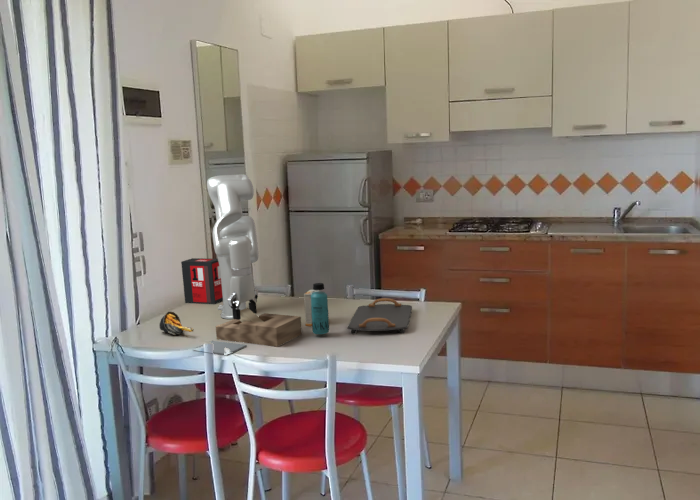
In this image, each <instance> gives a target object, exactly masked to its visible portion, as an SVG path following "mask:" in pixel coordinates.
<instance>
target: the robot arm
mask: <svg viewBox="0 0 700 500" xmlns="http://www.w3.org/2000/svg"><path fill="white" fill-rule="evenodd" d="M206 188H207V193H208V196H209V198H210V200H211V202H212V204H213V207H214V210H215V218H216V222H215V223H214V226H213V228H212V243H213V248H214V253H215V254H216V257H217V258H216V259H218V262H219V267H220V274H221V284H222V296H223V301H222V304H218V305H219V306H217V310H218V311H221V313H220V318H222V319H225V320H226V319H227V320H233V319H237V320H240V319H241V315H240V310H243V309H246V308H247V303H246V302H248V308H249V309H250V310H251V311H252V312H253V313H254V314H257V312H258V311H257V302H258V300H257V299H258V297H259V289H257V288H256V287H255V280H254V275H253V273H252V264H254V263H256V262H258V260H259V256H260V255H259V252H260V251H259V245H258V236H257V230H256V229H257V228H256V224H255V220H254V218H253V217H252V216H249V215H243V209H242V204H241V203H242V201H249V200H252V199H253V198H254V195H255V194H254V193H255V191H254V190H255V189H254V186H253V183H252V180H251V179H250V177H249V176H248V175H247V174H243V173H242V174H241V173H240V174H239V173H238V174H223V175H222V174H221V175H214V176H212V177H209V178H208V179H207V181H206Z"/></svg>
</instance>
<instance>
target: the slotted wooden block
mask: <svg viewBox="0 0 700 500" xmlns="http://www.w3.org/2000/svg"><path fill="white" fill-rule="evenodd" d="M258 317H259V318H260V319H261V320H262V321H263V323H260V322H250V321H245V322H241V321H240V320H237V319H230V320H228V321H226V322H223V323H220V324H218V325H216V326H215V334H216V340H219V339H221V341H227V340H228V342H229V341H230V342H235V341H236V342H237V343H243V342H244V344H251V345H252V344H253V345H261V346H270V347H276V348H278V347H280V346H282V345H285V344H286V343H288V342H290V341H292V340H294V339H296V338H297V337H301V336H302V335H303V331H302V317H301V316H300V315H290V314H289V315H288V314H287V315H286V314H278V313H277V314H276V313H268V312H264V313H261V314H260V315H258Z"/></svg>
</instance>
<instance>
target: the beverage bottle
mask: <svg viewBox="0 0 700 500" xmlns="http://www.w3.org/2000/svg"><path fill="white" fill-rule="evenodd" d="M312 290H320V291H318V292H314V293H312V295H311V312H312V315H311V317H312V326H311V329H312V330H311V331H312V333H313V334H315V335H324V334H325V335H326V334H328V333H329V332H330V319H329V317H330V316H329V304H328V303H329V302H328V294H327V293H326V292H325V291H322V290H325V285H324V283H322V282H315V283H313V284H312Z"/></svg>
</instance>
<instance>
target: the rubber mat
mask: <svg viewBox="0 0 700 500" xmlns="http://www.w3.org/2000/svg"><path fill="white" fill-rule="evenodd" d="M209 342H211V343H213V344H214V350H213V353H214V354H213V355H219V356H225V355H224V348H225V347H226V348H229V349H230V350H231V352H233V353H232V354H234V353H236V352H238V351H240V350H243V349H245V348H247V346H248V345H247V344H245V343H244V344H243V343H242V344H240V343H235V342H229V341H228V342H225V341H219V340H211V341H209ZM201 346H203V344H201V345H199V346H196V347H195V348H198V347H201ZM244 347H245V348H244ZM242 348H243V349H242Z"/></svg>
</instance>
